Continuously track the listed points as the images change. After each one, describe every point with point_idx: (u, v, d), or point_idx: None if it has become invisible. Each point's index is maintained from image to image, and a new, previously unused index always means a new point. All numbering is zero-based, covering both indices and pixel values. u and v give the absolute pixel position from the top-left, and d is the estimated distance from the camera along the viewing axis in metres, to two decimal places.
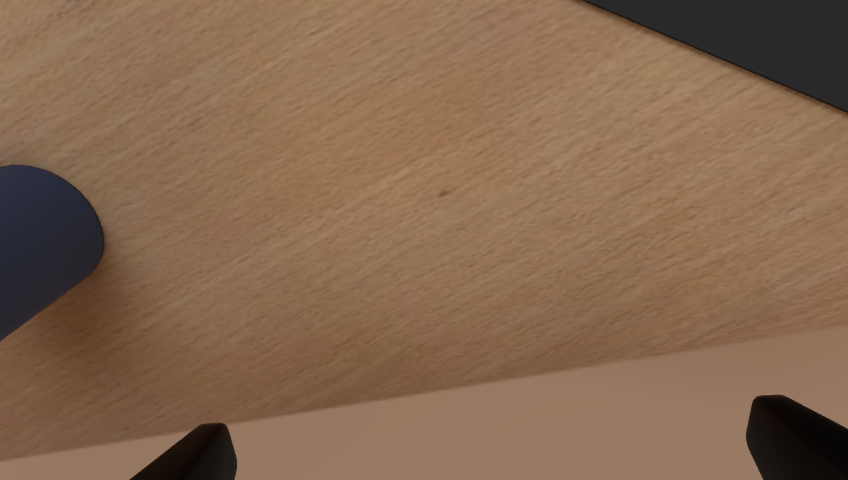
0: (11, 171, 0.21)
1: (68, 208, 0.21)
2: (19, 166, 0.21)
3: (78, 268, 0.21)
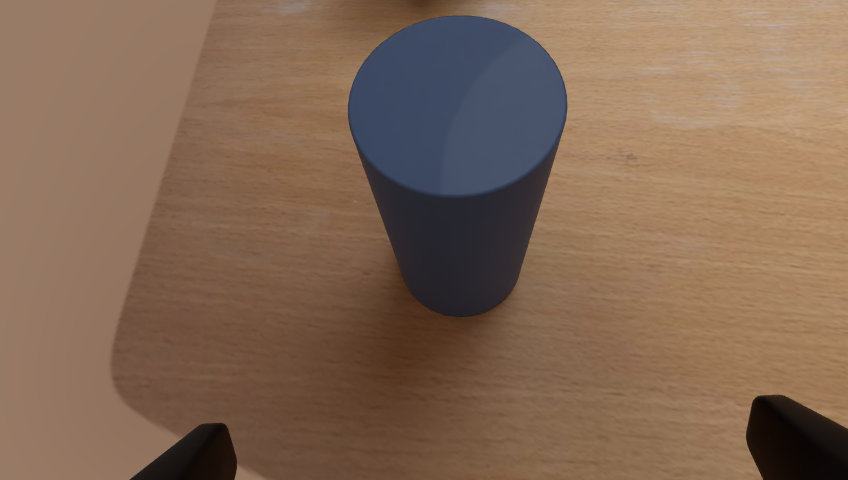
0: None
1: None
2: None
3: (497, 296, 0.22)
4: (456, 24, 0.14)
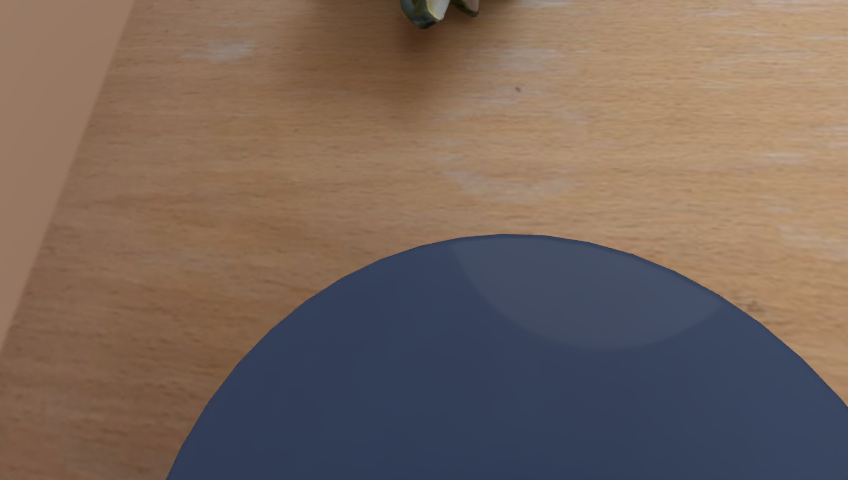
0: None
1: None
2: None
3: None
4: (512, 270, 0.04)
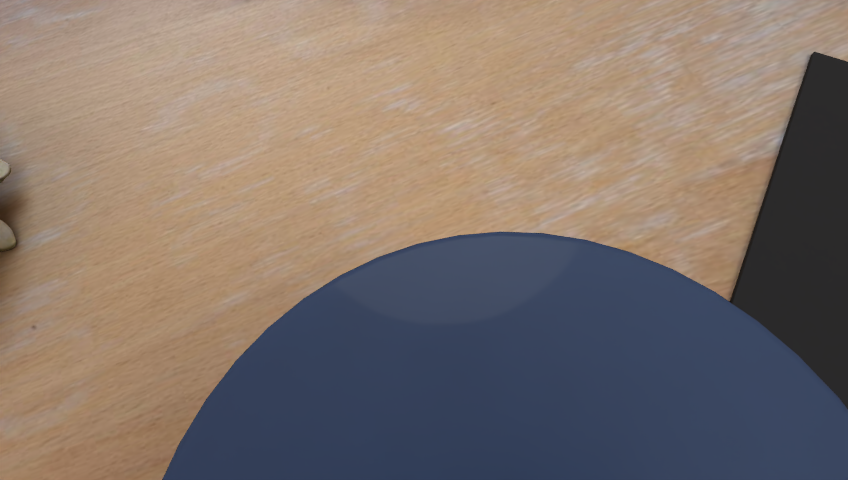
0: None
1: None
2: None
3: None
4: (510, 268, 0.04)
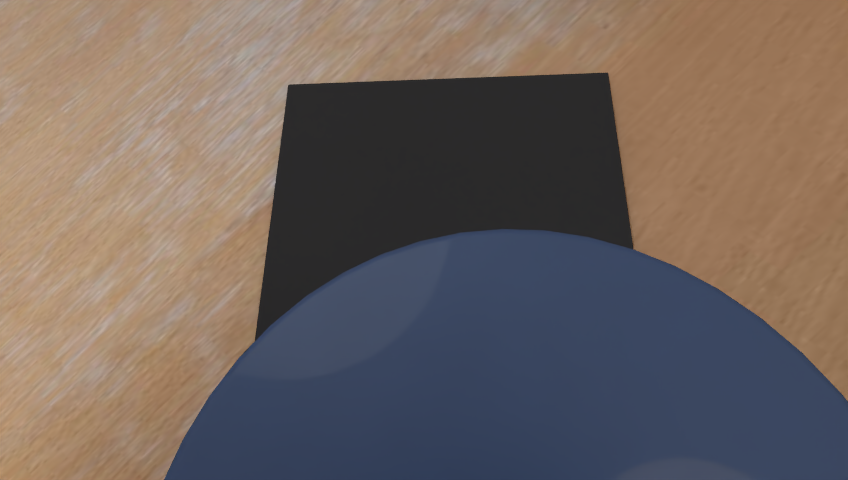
0: None
1: None
2: None
3: None
4: (513, 265, 0.04)
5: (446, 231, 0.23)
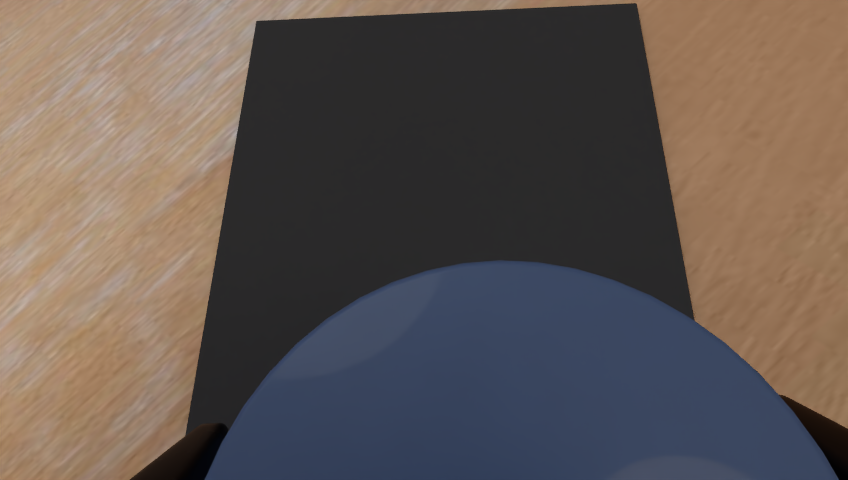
0: None
1: None
2: None
3: None
4: (509, 293, 0.05)
5: (443, 187, 0.19)
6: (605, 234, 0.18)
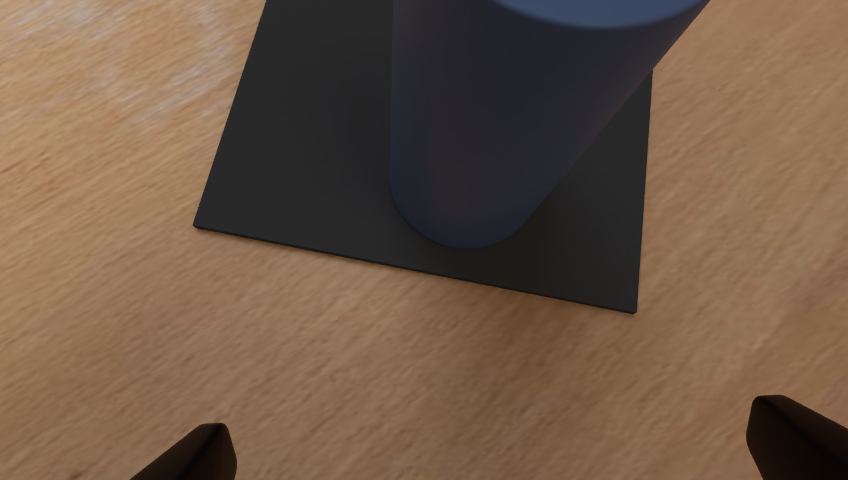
0: None
1: None
2: None
3: (505, 230, 0.17)
4: None
5: None
6: None
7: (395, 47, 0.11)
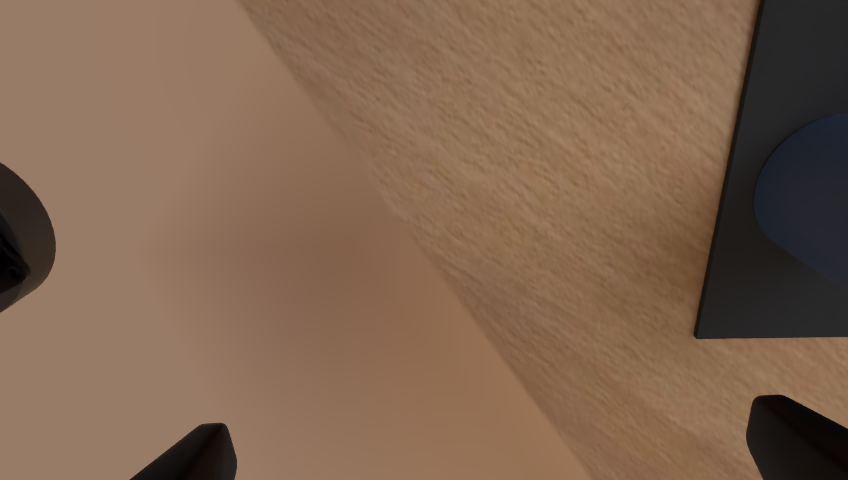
0: None
1: None
2: None
3: (784, 241, 0.19)
4: None
5: None
6: None
7: None
